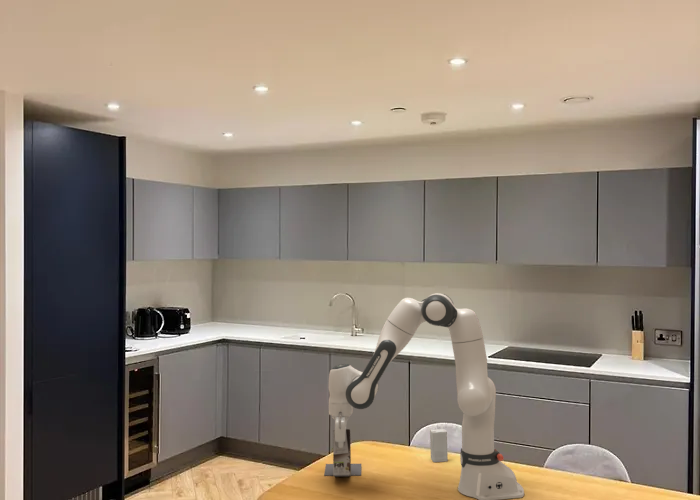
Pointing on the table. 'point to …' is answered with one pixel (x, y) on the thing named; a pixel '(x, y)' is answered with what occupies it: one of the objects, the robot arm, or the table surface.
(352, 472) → the mat
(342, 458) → the coffee box
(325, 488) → the table surface
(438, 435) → the skincare box
